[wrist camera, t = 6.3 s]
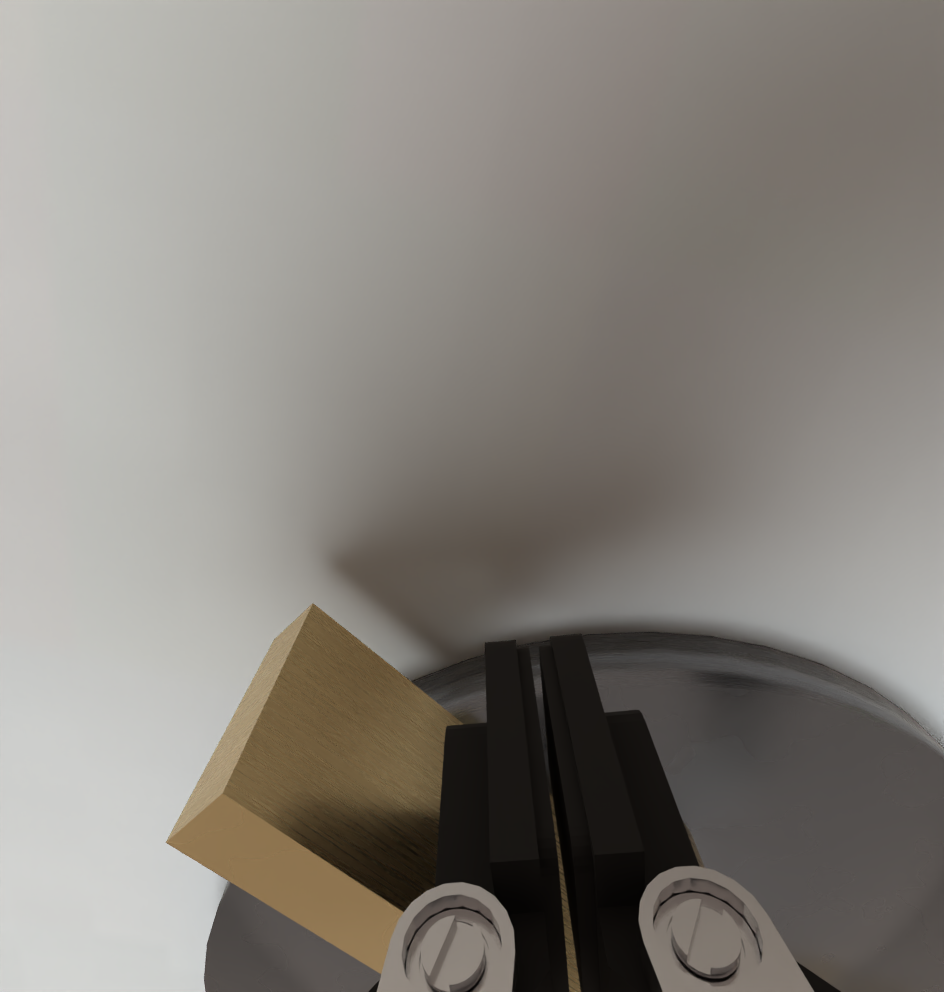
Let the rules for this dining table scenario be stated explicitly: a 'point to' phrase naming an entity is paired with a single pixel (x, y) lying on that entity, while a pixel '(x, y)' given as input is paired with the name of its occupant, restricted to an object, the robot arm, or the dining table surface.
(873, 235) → the dining table surface
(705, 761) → the plate
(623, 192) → the dining table surface
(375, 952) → the gold flat-bladed piece
